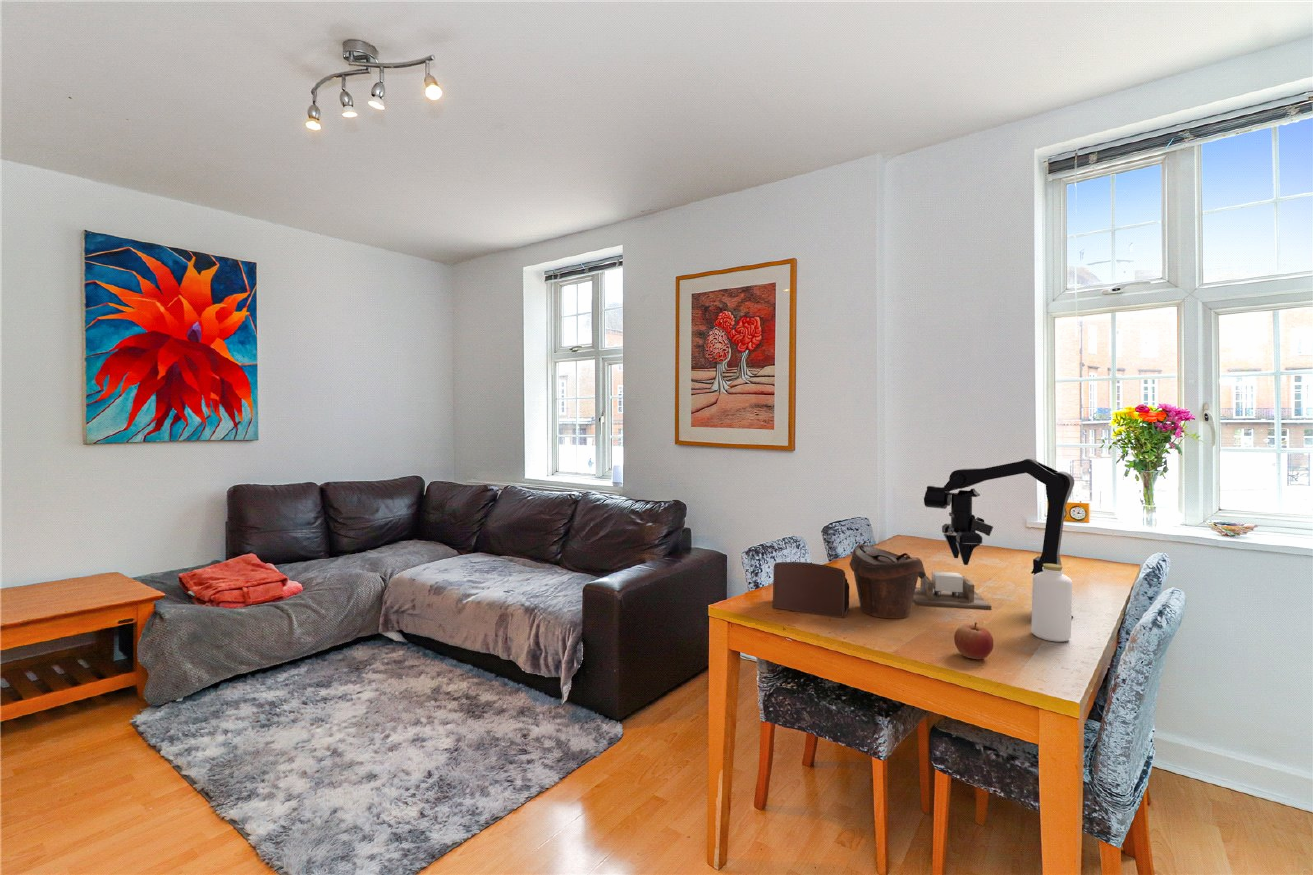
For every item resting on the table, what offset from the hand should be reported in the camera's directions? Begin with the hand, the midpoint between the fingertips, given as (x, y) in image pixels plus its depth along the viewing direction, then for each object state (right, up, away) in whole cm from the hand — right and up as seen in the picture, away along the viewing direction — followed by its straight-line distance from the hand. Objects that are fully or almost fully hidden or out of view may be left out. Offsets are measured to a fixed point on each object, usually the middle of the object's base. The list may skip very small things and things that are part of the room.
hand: (960, 561), depth 186 cm
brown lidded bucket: (-29, -11, -15) cm, 34 cm away
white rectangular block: (-6, -8, -3) cm, 10 cm away
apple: (-21, -12, -47) cm, 53 cm away
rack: (-6, -11, -3) cm, 12 cm away
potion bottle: (+5, -12, -34) cm, 37 cm away
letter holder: (-49, -11, -12) cm, 52 cm away
